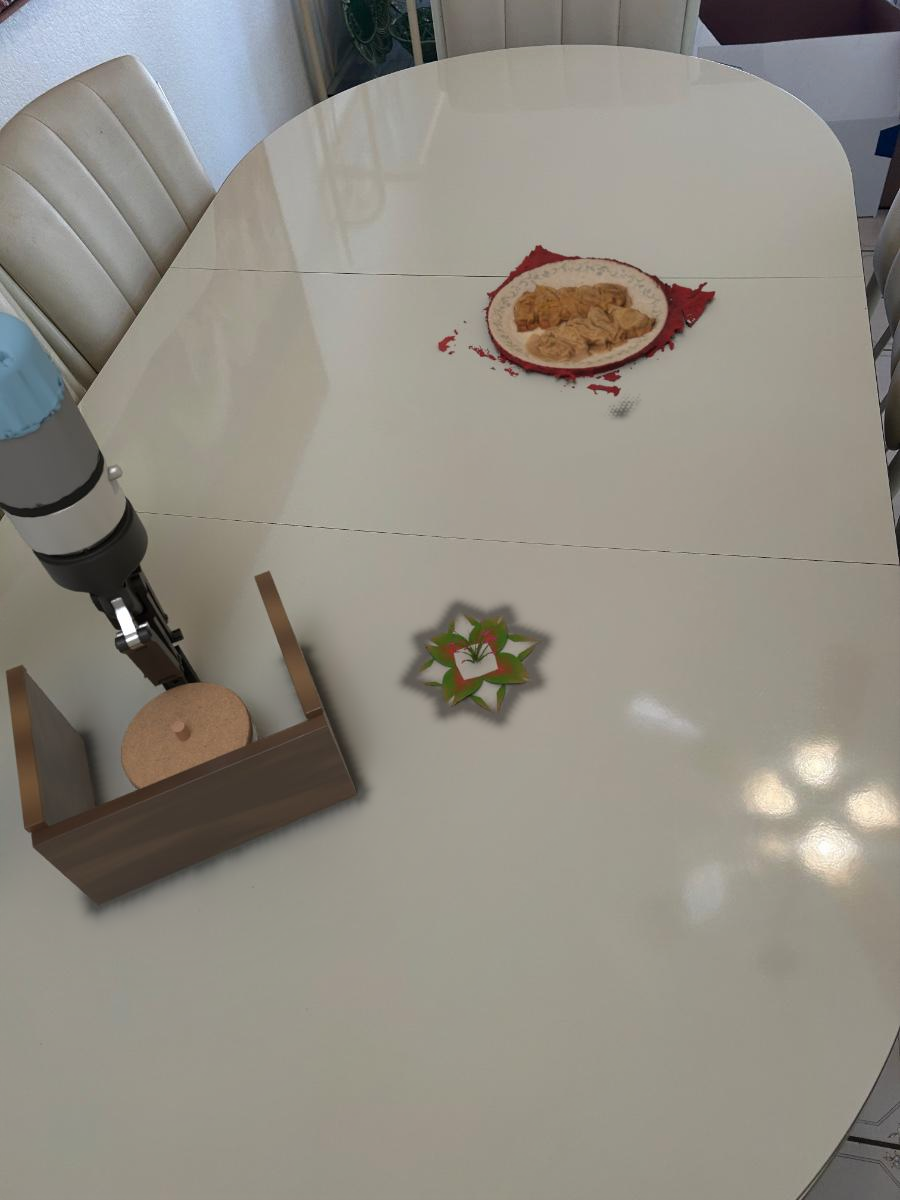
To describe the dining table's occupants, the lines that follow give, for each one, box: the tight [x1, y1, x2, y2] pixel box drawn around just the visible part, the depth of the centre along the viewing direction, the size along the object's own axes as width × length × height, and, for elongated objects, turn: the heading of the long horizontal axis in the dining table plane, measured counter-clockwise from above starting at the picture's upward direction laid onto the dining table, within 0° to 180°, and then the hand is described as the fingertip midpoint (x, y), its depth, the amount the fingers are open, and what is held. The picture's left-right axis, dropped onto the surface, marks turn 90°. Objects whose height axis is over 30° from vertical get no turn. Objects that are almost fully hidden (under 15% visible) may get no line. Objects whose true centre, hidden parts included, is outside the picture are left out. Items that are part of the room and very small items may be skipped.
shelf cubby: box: [5, 570, 358, 906], centre depth 77 cm, size 16×23×13 cm
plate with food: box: [437, 244, 716, 397], centre depth 114 cm, size 24×26×4 cm
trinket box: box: [120, 682, 259, 790], centre depth 78 cm, size 11×11×9 cm
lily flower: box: [417, 614, 542, 716], centre depth 84 cm, size 12×12×5 cm
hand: (190, 696), depth 85 cm, fingers closed
